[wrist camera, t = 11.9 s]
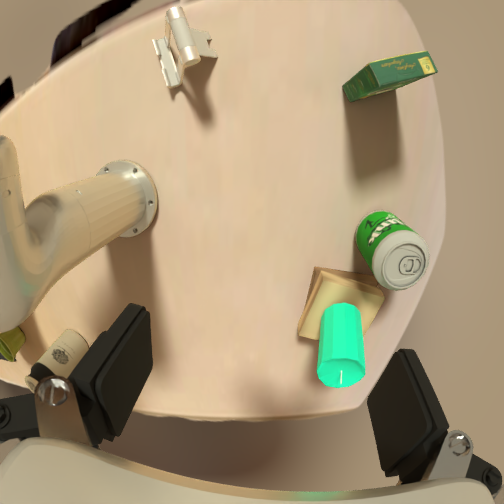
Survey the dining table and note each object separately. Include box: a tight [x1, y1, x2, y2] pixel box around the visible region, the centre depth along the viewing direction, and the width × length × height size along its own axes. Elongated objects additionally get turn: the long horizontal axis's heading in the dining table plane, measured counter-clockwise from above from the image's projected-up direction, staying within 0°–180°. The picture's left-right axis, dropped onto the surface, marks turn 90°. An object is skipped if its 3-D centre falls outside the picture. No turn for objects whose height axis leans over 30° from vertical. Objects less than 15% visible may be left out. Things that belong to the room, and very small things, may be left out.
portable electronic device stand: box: [153, 7, 217, 88], centre depth 30 cm, size 9×8×8 cm
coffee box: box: [342, 51, 438, 102], centre depth 27 cm, size 8×3×13 cm, turn 114°
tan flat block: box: [304, 267, 378, 309], centre depth 44 cm, size 10×10×3 cm
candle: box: [317, 303, 365, 388], centre depth 35 cm, size 6×6×12 cm
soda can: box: [355, 210, 430, 291], centre depth 35 cm, size 8×8×12 cm
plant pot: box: [0, 326, 26, 362], centre depth 58 cm, size 9×9×9 cm
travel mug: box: [25, 330, 89, 393], centre depth 50 cm, size 8×8×18 cm
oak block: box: [298, 270, 385, 340], centre depth 42 cm, size 10×10×3 cm
